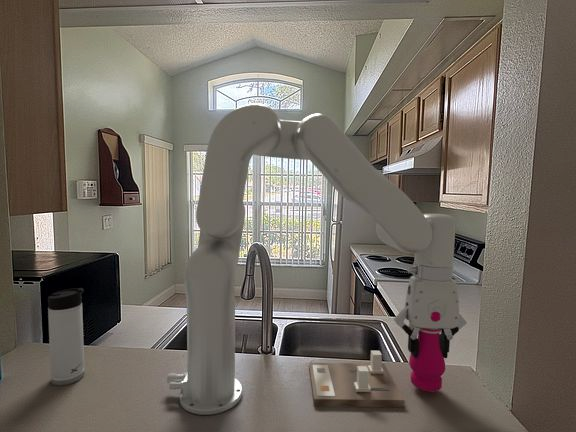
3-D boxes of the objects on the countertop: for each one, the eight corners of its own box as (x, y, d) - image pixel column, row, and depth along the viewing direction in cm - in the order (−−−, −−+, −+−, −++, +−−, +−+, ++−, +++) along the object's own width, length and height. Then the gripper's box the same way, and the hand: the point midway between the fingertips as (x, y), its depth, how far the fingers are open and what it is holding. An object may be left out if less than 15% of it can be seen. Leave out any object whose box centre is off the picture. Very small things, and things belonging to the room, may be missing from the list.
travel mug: (83, 382, 75) (80, 293, 73) (47, 388, 72) (43, 296, 70) (88, 368, 80) (85, 285, 79) (55, 373, 78) (51, 287, 76)
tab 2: (370, 373, 77) (371, 355, 77) (367, 367, 80) (368, 350, 79) (383, 373, 77) (384, 355, 77) (380, 367, 80) (381, 350, 79)
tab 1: (356, 391, 70) (357, 371, 70) (353, 384, 73) (354, 365, 72) (370, 391, 70) (371, 371, 70) (367, 385, 73) (368, 365, 72)
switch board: (314, 406, 68) (314, 398, 68) (309, 368, 82) (309, 362, 82) (404, 407, 68) (404, 399, 68) (383, 369, 82) (384, 363, 82)
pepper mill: (422, 395, 70) (427, 299, 68) (401, 376, 77) (405, 289, 75) (451, 390, 72) (457, 297, 70) (428, 372, 79) (433, 287, 77)
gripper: (398, 276, 68) (393, 363, 70) (483, 277, 68) (477, 364, 70) (386, 267, 76) (383, 346, 77) (463, 268, 76) (458, 347, 77)
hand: (428, 354), depth 74 cm, fingers closed on pepper mill, 5 cm apart
